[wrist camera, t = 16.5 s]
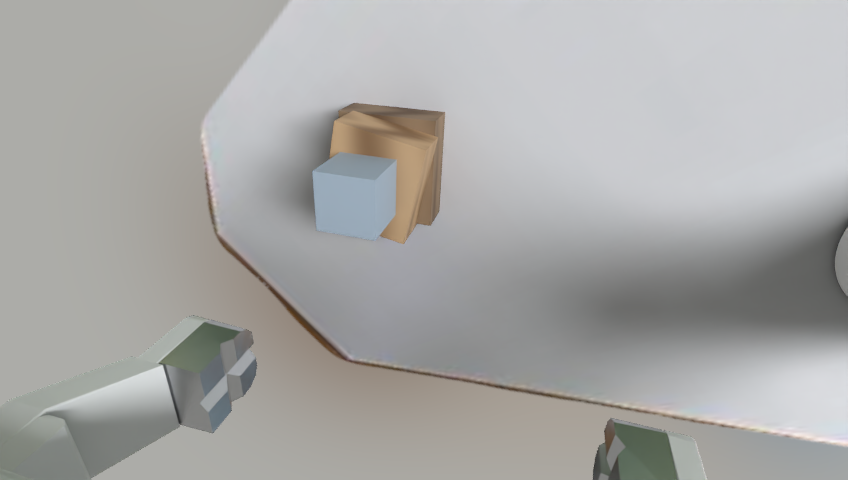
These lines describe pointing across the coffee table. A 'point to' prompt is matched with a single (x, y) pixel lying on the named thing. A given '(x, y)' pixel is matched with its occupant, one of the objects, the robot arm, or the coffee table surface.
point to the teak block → (392, 143)
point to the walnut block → (424, 123)
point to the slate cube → (355, 195)
